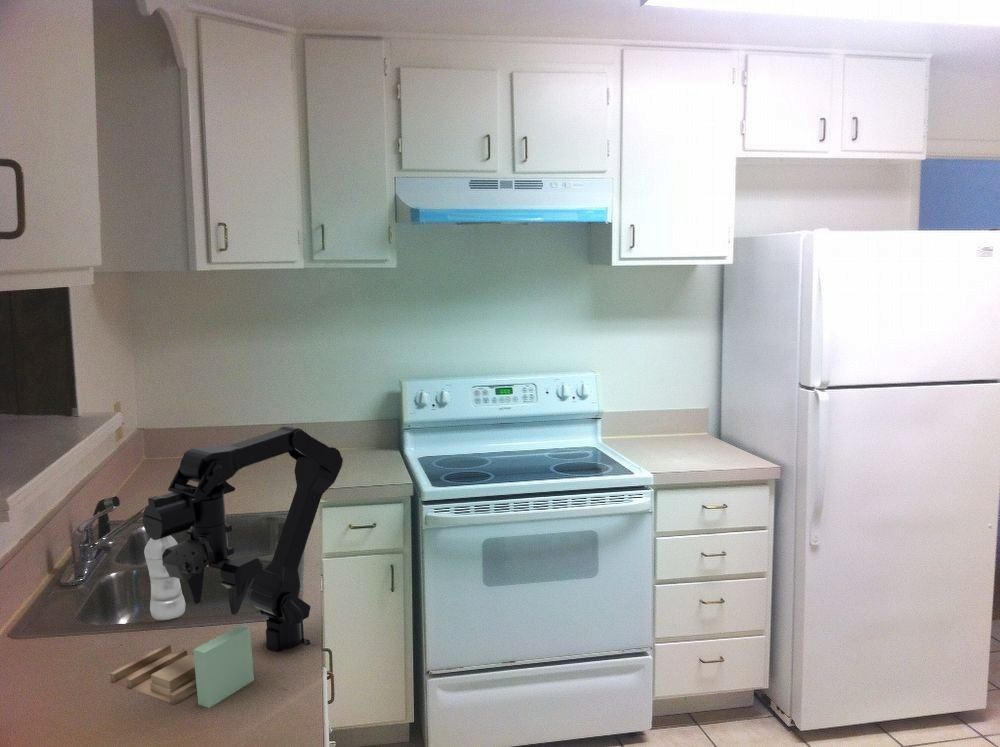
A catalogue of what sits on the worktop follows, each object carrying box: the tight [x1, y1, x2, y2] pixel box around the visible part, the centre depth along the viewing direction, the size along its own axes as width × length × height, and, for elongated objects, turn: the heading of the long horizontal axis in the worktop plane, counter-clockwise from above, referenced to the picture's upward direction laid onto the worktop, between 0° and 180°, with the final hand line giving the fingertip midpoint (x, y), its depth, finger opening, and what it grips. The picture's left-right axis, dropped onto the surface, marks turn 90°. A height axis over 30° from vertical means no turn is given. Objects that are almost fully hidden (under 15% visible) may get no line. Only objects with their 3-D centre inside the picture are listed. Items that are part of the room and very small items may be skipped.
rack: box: [109, 643, 197, 705], centre depth 157 cm, size 12×16×2 cm
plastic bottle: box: [143, 535, 186, 621], centre depth 180 cm, size 6×7×20 cm
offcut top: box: [151, 651, 196, 690], centre depth 155 cm, size 9×5×2 cm, turn 150°
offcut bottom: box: [150, 675, 196, 698], centre depth 155 cm, size 10×5×2 cm, turn 150°
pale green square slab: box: [192, 624, 255, 709], centre depth 151 cm, size 10×2×10 cm, turn 150°
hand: (215, 608), depth 156 cm, fingers open, 9 cm apart
